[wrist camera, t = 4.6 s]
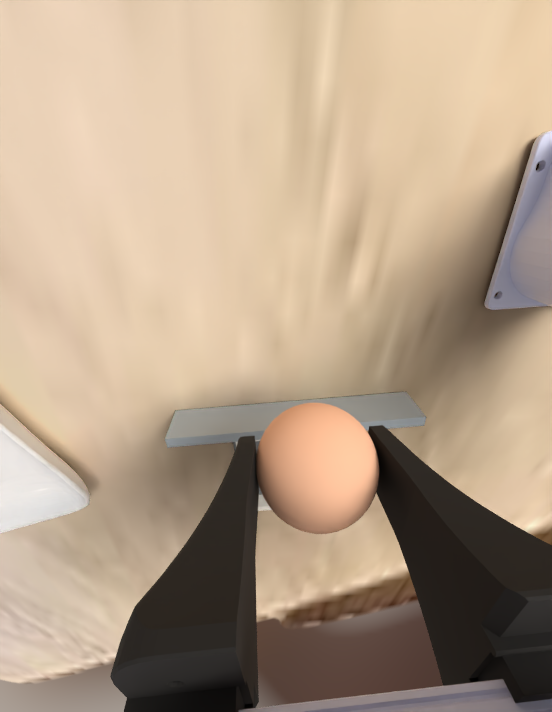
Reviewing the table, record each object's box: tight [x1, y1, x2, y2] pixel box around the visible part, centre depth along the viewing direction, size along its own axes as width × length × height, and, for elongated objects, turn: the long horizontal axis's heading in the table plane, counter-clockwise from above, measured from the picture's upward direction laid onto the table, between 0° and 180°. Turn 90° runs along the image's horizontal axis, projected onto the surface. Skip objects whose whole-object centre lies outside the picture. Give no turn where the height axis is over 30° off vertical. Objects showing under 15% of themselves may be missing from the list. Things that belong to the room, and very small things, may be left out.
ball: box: [256, 403, 379, 534], centre depth 12 cm, size 5×5×5 cm
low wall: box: [165, 392, 426, 448], centre depth 21 cm, size 1×18×3 cm, turn 93°
